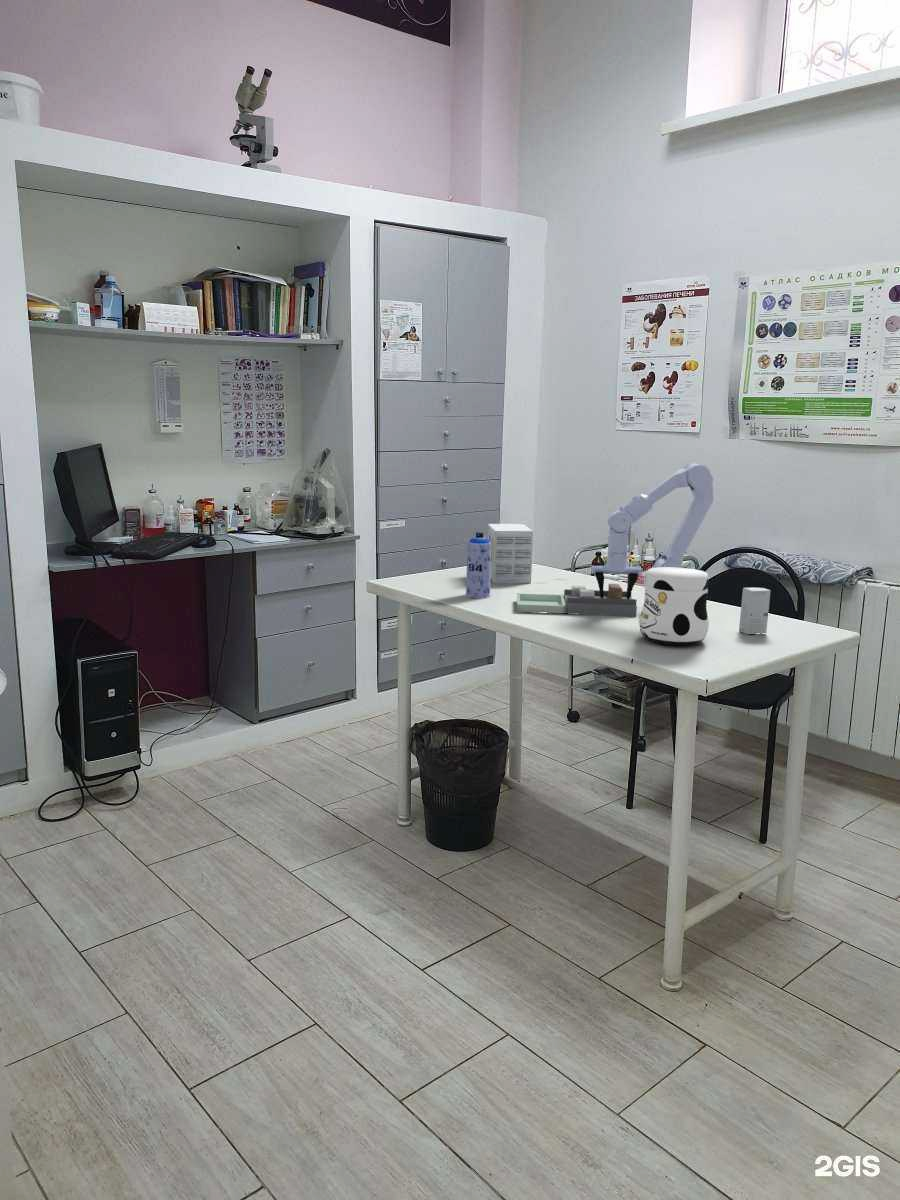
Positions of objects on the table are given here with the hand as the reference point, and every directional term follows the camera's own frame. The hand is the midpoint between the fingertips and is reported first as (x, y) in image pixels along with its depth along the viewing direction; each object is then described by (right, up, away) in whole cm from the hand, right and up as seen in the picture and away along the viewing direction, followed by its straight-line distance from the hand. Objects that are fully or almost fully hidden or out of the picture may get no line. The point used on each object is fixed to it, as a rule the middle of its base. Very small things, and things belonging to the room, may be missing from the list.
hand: (614, 597), depth 268 cm
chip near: (-9, +1, -2) cm, 9 cm away
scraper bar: (0, -1, 0) cm, 1 cm away
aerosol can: (-40, 0, +17) cm, 43 cm away
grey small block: (-10, +2, +3) cm, 11 cm away
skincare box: (+33, -10, -24) cm, 42 cm away
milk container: (+9, -11, -33) cm, 36 cm away
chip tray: (-22, -3, +2) cm, 22 cm away
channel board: (-5, -3, +1) cm, 6 cm away
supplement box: (-29, +6, +46) cm, 54 cm away
